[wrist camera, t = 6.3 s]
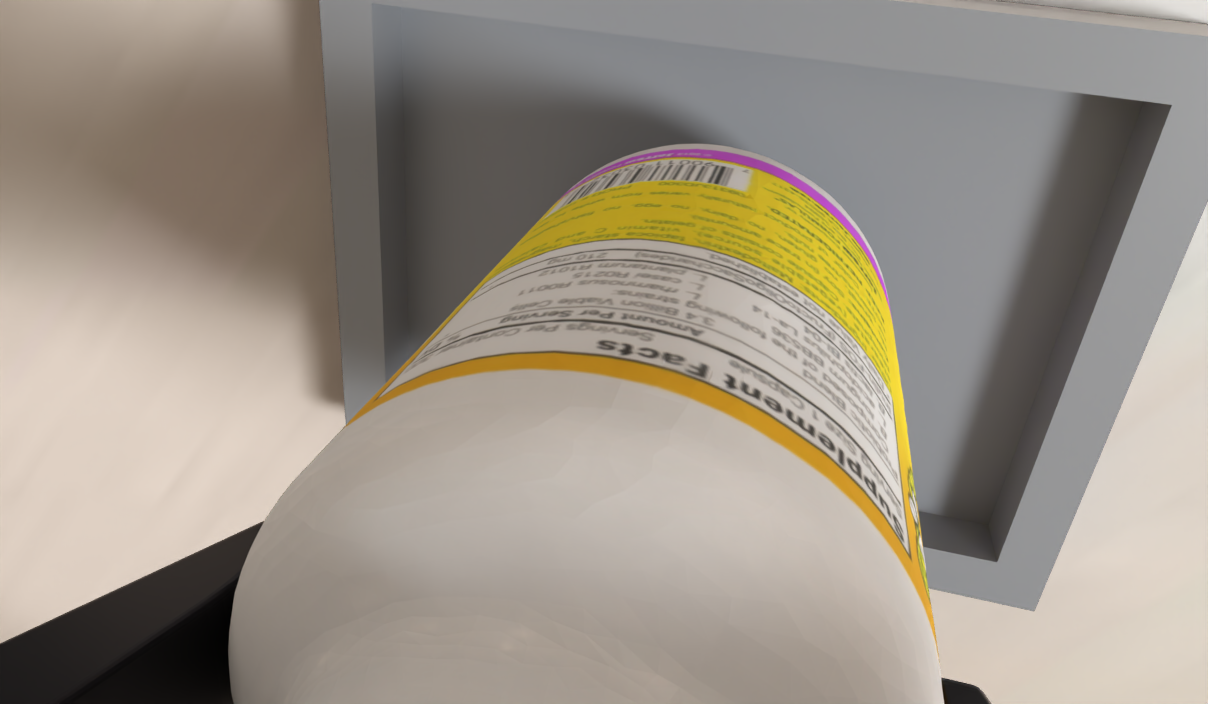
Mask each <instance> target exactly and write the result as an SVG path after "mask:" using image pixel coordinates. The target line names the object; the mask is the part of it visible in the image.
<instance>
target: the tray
mask: <svg viewBox="0 0 1208 704" xmlns="http://www.w3.org/2000/svg"><path fill="white" fill-rule="evenodd" d="M319 7H320V22H321V38H322V54H323V70H324V86H325V102H326V117H327V133H328V149H329V165H330V181H331V197H332V213H333V228H334V244H335V260H336V276H337V292H338V308H339V324H340V339H341V355H342V371H343V387H344V403H345V419H346V424H347V423H348V422H349V421H350V420H351V419H352V418H353V417H354V416H355V415H356V414H357V413H358V412H359V411H360V410H361V409H362V408H363V407H364V405H365V404H366V403H367V402H368V401H369V400H370V399H371V398H372V397H373V396H374V395H375V394H376V393H377V392H378V391H379V390H380V389H381V388H382V387H383V386H384V385H385V384H386V383H387V382H388V380H389V379H390V378H391V377H392V376H393V375H394V374H395V373H396V372H397V371H398V370H399V369H400V368H401V367H402V366H403V365H404V364H405V363H406V362H407V361H408V360H409V359H410V357H411V356H412V355H413V354H414V353H415V352H416V351H417V350H418V349H419V348H420V347H421V346H422V345H423V344H424V343H425V342H426V340H427V339H428V338H429V337H430V336H431V335H432V334H433V333H434V332H435V331H436V330H437V329H438V327H439V326H440V325H441V324H442V323H443V322H444V321H445V320H446V319H447V318H448V317H449V316H450V315H451V313H452V312H453V311H454V310H455V309H456V308H457V307H458V306H459V305H460V304H461V303H462V302H463V301H464V299H465V298H466V297H467V296H468V295H469V294H470V293H471V292H472V291H473V290H474V289H475V288H476V287H477V286H478V285H479V284H480V282H481V281H482V280H483V279H484V278H485V277H486V276H487V275H488V274H489V273H490V272H491V271H492V270H493V269H494V268H495V267H496V265H497V264H498V263H499V262H500V261H501V260H502V259H503V258H504V257H505V256H506V255H507V254H508V253H509V252H510V251H511V250H512V248H513V247H514V246H515V245H516V244H517V243H518V242H519V241H520V240H521V239H522V238H523V237H524V236H525V235H526V234H527V233H528V232H529V230H530V229H531V228H532V227H533V226H534V225H535V224H536V223H537V222H538V221H539V220H540V219H541V218H542V217H543V215H544V214H545V213H546V212H547V211H548V210H549V209H550V208H551V207H552V206H553V205H554V204H555V203H556V202H557V201H558V200H559V199H560V198H561V197H562V196H563V195H564V194H565V193H566V192H567V191H568V190H569V189H570V188H572V187H573V186H574V185H575V184H577V183H578V182H579V181H581V180H582V179H583V178H585V177H586V176H588V175H589V174H591V173H592V172H594V171H596V170H597V169H599V168H601V167H603V166H605V165H606V164H608V163H611V162H613V161H615V160H617V159H620V158H622V157H625V156H628V155H631V154H634V153H636V152H639V151H644V150H648V149H652V148H657V147H662V146H668V145H676V144H713V145H721V146H728V147H733V148H737V149H741V150H745V151H749V152H753V153H756V154H759V155H762V156H765V157H768V158H770V159H773V160H775V161H777V162H779V163H781V164H783V165H785V166H787V167H789V168H791V169H793V170H795V171H796V172H798V173H799V174H801V175H803V176H804V177H806V178H807V179H809V180H811V181H812V182H814V183H815V184H816V185H818V186H819V187H820V188H822V189H823V190H824V191H825V192H827V193H828V194H829V195H830V196H831V197H832V198H833V199H835V200H836V201H837V202H838V203H839V204H840V205H841V206H842V208H843V209H844V210H845V211H846V212H847V214H848V215H849V216H850V217H851V218H852V220H853V221H854V222H855V223H856V225H857V226H858V227H859V229H860V230H861V232H862V233H863V235H864V236H865V238H866V240H867V242H868V243H869V245H870V247H871V249H872V251H873V253H874V255H875V257H876V259H877V262H878V264H879V267H880V270H881V272H882V275H883V279H884V283H885V286H886V290H887V295H888V299H889V305H890V311H891V317H892V323H893V329H894V336H895V344H896V351H897V358H898V364H899V372H900V380H901V388H902V393H903V399H904V410H905V417H906V423H907V433H908V441H909V448H910V455H911V462H912V471H913V480H914V487H915V493H916V500H917V507H918V514H919V522H920V529H921V536H922V543H923V552H924V558H925V564H926V574H927V582H928V588H930V589H934V590H939V591H944V592H948V593H953V594H957V595H962V596H966V597H971V598H976V599H980V600H985V601H989V602H994V603H998V604H1003V605H1007V606H1012V607H1017V608H1021V609H1026V610H1030V611H1035V608H1036V606H1037V604H1038V601H1039V599H1040V597H1041V594H1042V592H1043V590H1044V587H1045V585H1046V582H1047V580H1048V578H1049V575H1050V573H1051V571H1052V568H1053V566H1054V564H1055V561H1056V559H1057V556H1058V554H1059V552H1060V549H1061V547H1062V545H1063V542H1064V540H1065V538H1066V535H1067V533H1068V530H1069V528H1070V526H1071V523H1072V521H1073V519H1074V516H1075V514H1076V511H1077V509H1078V507H1079V504H1080V502H1081V500H1082V497H1083V495H1084V493H1085V490H1086V488H1087V485H1088V483H1089V481H1090V478H1091V476H1092V474H1093V471H1094V469H1095V467H1096V464H1097V462H1098V459H1099V457H1100V455H1101V452H1102V450H1103V448H1104V445H1105V443H1106V440H1107V438H1108V436H1109V433H1110V431H1111V429H1112V426H1113V424H1114V422H1115V419H1116V417H1117V414H1118V412H1119V410H1120V407H1121V405H1122V403H1123V400H1124V398H1125V396H1126V393H1127V391H1128V388H1129V386H1130V384H1131V381H1132V379H1133V377H1134V374H1135V372H1136V369H1137V367H1138V365H1139V362H1140V360H1141V358H1142V355H1143V353H1144V351H1145V348H1146V346H1147V343H1148V341H1149V339H1150V336H1151V334H1152V332H1153V329H1154V327H1155V325H1156V322H1157V320H1158V317H1159V315H1160V313H1161V310H1162V308H1163V306H1164V303H1165V301H1166V298H1167V296H1168V294H1169V291H1170V289H1171V287H1172V284H1173V282H1174V280H1175V277H1176V275H1177V272H1178V270H1179V268H1180V265H1181V263H1182V261H1183V258H1184V256H1185V254H1186V251H1187V249H1188V246H1189V244H1190V242H1191V239H1192V237H1193V235H1194V232H1195V230H1196V227H1197V225H1198V223H1199V220H1200V218H1201V216H1202V213H1203V211H1204V209H1205V206H1206V204H1207V201H1208V24H1201V23H1192V22H1183V21H1174V20H1165V19H1157V18H1148V17H1139V16H1130V15H1121V14H1112V13H1103V12H1094V11H1085V10H1077V9H1068V8H1059V7H1050V6H1041V5H1032V4H1023V3H1014V2H1005V1H997V0H319Z"/></svg>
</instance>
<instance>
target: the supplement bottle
mask: <svg viewBox="0 0 1208 704" xmlns="http://www.w3.org/2000/svg"><path fill="white" fill-rule="evenodd" d="M228 658H229V673H230V685H231V694H232V698H233V702H234V704H944V698H943V691H942V682H941V670H940V662H939V655H938V648H937V641H936V635H935V628H934V621H933V614H932V607H931V602H930V596H929V589H928V582H927V574H926V564H925V558H924V552H923V543H922V536H921V529H920V522H919V514H918V507H917V500H916V493H915V487H914V480H913V471H912V462H911V455H910V448H909V441H908V433H907V423H906V417H905V410H904V399H903V393H902V388H901V380H900V372H899V364H898V358H897V351H896V344H895V336H894V329H893V323H892V317H891V311H890V305H889V299H888V295H887V290H886V286H885V283H884V279H883V275H882V272H881V270H880V267H879V264H878V262H877V259H876V257H875V255H874V253H873V251H872V249H871V247H870V245H869V243H868V242H867V240H866V238H865V236H864V235H863V233H862V232H861V230H860V229H859V227H858V226H857V225H856V223H855V222H854V221H853V220H852V218H851V217H850V216H849V215H848V214H847V212H846V211H845V210H844V209H843V208H842V206H841V205H840V204H839V203H838V202H837V201H836V200H835V199H833V198H832V197H831V196H830V195H829V194H828V193H827V192H825V191H824V190H823V189H822V188H820V187H819V186H818V185H816V184H815V183H814V182H812V181H811V180H809V179H807V178H806V177H804V176H803V175H801V174H799V173H798V172H796V171H795V170H793V169H791V168H789V167H787V166H785V165H783V164H781V163H779V162H777V161H775V160H773V159H770V158H768V157H765V156H762V155H759V154H756V153H753V152H749V151H745V150H741V149H737V148H733V147H728V146H721V145H713V144H676V145H668V146H662V147H657V148H652V149H648V150H644V151H639V152H636V153H634V154H631V155H628V156H625V157H622V158H620V159H617V160H615V161H613V162H611V163H608V164H606V165H605V166H603V167H601V168H599V169H597V170H596V171H594V172H592V173H591V174H589V175H588V176H586V177H585V178H583V179H582V180H581V181H579V182H578V183H577V184H575V185H574V186H573V187H572V188H570V189H569V190H568V191H567V192H566V193H565V194H564V195H563V196H562V197H561V198H560V199H559V200H558V201H557V202H556V203H555V204H554V205H553V206H552V207H551V208H550V209H549V210H548V211H547V212H546V213H545V214H544V215H543V217H542V218H541V219H540V220H539V221H538V222H537V223H536V224H535V225H534V226H533V227H532V228H531V229H530V230H529V232H528V233H527V234H526V235H525V236H524V237H523V238H522V239H521V240H520V241H519V242H518V243H517V244H516V245H515V246H514V247H513V248H512V250H511V251H510V252H509V253H508V254H507V255H506V256H505V257H504V258H503V259H502V260H501V261H500V262H499V263H498V264H497V265H496V267H495V268H494V269H493V270H492V271H491V272H490V273H489V274H488V275H487V276H486V277H485V278H484V279H483V280H482V281H481V282H480V284H479V285H478V286H477V287H476V288H475V289H474V290H473V291H472V292H471V293H470V294H469V295H468V296H467V297H466V298H465V299H464V301H463V302H462V303H461V304H460V305H459V306H458V307H457V308H456V309H455V310H454V311H453V312H452V313H451V315H450V316H449V317H448V318H447V319H446V320H445V321H444V322H443V323H442V324H441V325H440V326H439V327H438V329H437V330H436V331H435V332H434V333H433V334H432V335H431V336H430V337H429V338H428V339H427V340H426V342H425V343H424V344H423V345H422V346H421V347H420V348H419V349H418V350H417V351H416V352H415V353H414V354H413V355H412V356H411V357H410V359H409V360H408V361H407V362H406V363H405V364H404V365H403V366H402V367H401V368H400V369H399V370H398V371H397V372H396V373H395V374H394V375H393V376H392V377H391V378H390V379H389V380H388V382H387V383H386V384H385V385H384V386H383V387H382V388H381V389H380V390H379V391H378V392H377V393H376V394H375V395H374V396H373V397H372V398H371V399H370V400H369V401H368V402H367V403H366V404H365V405H364V407H363V408H362V409H361V410H360V411H359V412H358V413H357V414H356V415H355V416H354V417H353V418H352V419H351V420H350V421H349V422H348V423H347V424H346V426H345V427H344V428H343V429H342V430H341V431H340V432H339V433H338V434H337V435H336V436H335V437H334V438H333V439H332V440H331V442H330V443H329V444H328V445H327V446H326V447H325V448H324V449H323V450H322V451H321V452H320V453H319V454H318V455H317V456H316V458H315V459H314V460H313V461H312V462H311V463H310V464H309V465H308V466H307V467H306V468H305V469H304V470H303V471H302V472H301V473H300V474H299V476H298V477H297V478H296V479H295V480H294V481H293V482H292V483H291V484H290V486H289V487H288V488H287V489H286V491H285V492H284V493H283V495H282V496H281V497H280V499H279V500H278V501H277V503H276V504H275V506H274V507H273V509H272V510H271V512H270V513H269V515H268V516H267V517H266V519H265V521H264V523H263V525H262V526H261V528H260V530H259V532H258V534H257V536H256V538H255V540H254V542H253V544H252V546H251V548H250V550H249V553H248V555H247V558H246V560H245V563H244V566H243V568H242V571H241V574H240V577H239V581H238V584H237V587H236V590H235V594H234V600H233V607H232V615H231V622H230V629H229V645H228Z"/></svg>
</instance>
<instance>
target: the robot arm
mask: <svg viewBox="0 0 1208 704" xmlns="http://www.w3.org/2000/svg"><path fill="white" fill-rule="evenodd" d="M263 523H264V521H263V522H260V523H258V524H256V525H254V526H252V527H250V528H248V529H245V530H243V531H241V532H239V533H237V534H235V535H232V536H230V537H228V538H226V539H224V540H222V541H220V542H217V543H215V544H213V545H211V546H209V547H207V548H205V549H202V550H200V551H198V552H196V553H194V554H192V555H189V556H187V557H185V558H183V559H181V560H179V561H177V562H174V563H172V564H170V565H168V566H166V567H164V568H162V569H159V570H157V571H155V572H153V573H151V574H149V575H147V576H144V577H142V578H140V579H138V580H136V581H134V582H131V583H129V584H127V585H125V586H123V587H121V588H119V589H116V590H114V591H112V592H110V593H108V594H106V595H104V596H101V597H99V598H97V599H95V600H93V601H91V602H89V603H86V604H84V605H82V606H80V607H78V608H76V609H73V610H71V611H69V612H67V613H65V614H63V615H61V616H58V617H56V618H54V619H52V620H50V621H48V622H46V623H43V624H41V625H39V626H37V627H35V628H33V629H30V630H28V631H26V632H24V633H22V634H20V635H18V636H15V637H13V638H11V639H9V640H7V641H5V642H3V643H0V704H234V702H233V698H232V694H231V685H230V673H229V658H228V645H229V629H230V622H231V615H232V607H233V600H234V594H235V590H236V587H237V584H238V581H239V577H240V574H241V571H242V568H243V566H244V563H245V560H246V558H247V555H248V553H249V550H250V548H251V546H252V544H253V542H254V540H255V538H256V536H257V534H258V532H259V530H260V528H261V526H262V525H263ZM941 682H942V691H943V698H944V704H991V702H990V701H989V700H988V698H987V697H986V695H985V694H984V693H983V691H981V690H980V689H979V688H978V687H976V686H974V685H971V684H966V683H962V682H958V681H954V680H950V679H945V678H941Z"/></svg>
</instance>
